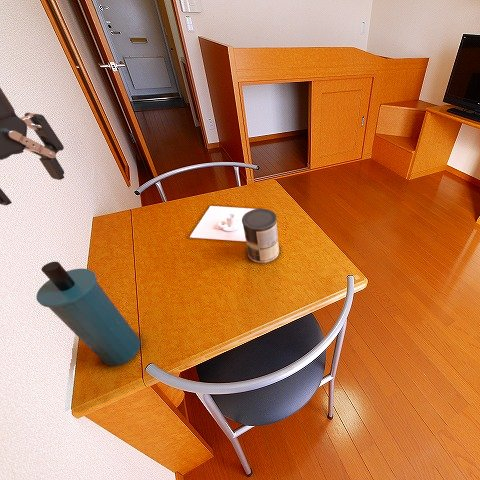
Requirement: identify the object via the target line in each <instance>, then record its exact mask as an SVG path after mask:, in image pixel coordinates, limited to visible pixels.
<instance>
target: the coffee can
mask: <svg viewBox="0 0 480 480" xmlns="http://www.w3.org/2000/svg"><path fill="white" fill-rule="evenodd" d="M253 209H254V210H251V211H249V212H247V213H246V214H244V216H243V217H242V224H243V228H244V233H245V239H246V241H245V243H246V244H245V245H246V249H247V256H248V258H249V259H250V261H253V262H255V263H259V264H266V263H270V262H272V261H274V260H276V258H277V257H278V256H279V254H280V247H279V236H278V222H277V220H278V218H277V214H276V213H275V212H274V211H273V210H271V209H267V208H253Z"/></svg>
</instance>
